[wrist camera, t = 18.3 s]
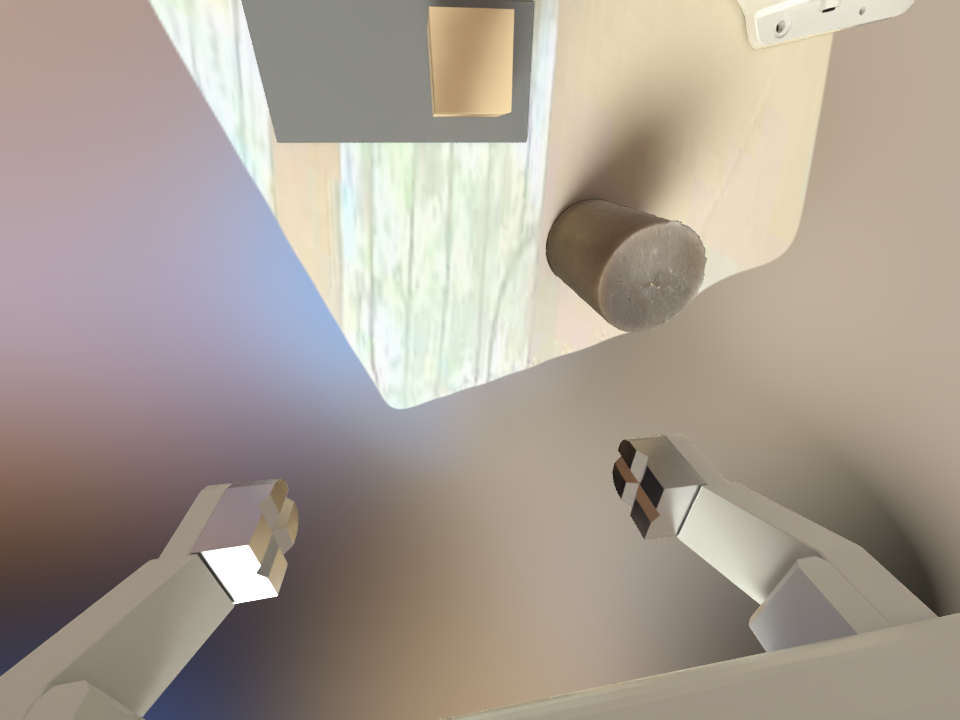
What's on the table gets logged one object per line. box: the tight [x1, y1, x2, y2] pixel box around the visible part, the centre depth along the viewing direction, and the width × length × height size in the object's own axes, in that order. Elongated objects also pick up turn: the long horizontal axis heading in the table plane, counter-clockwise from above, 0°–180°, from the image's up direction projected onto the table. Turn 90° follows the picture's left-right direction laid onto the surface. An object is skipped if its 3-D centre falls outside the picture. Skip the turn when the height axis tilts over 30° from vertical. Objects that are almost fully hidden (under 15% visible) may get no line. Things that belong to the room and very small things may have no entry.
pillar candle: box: [546, 199, 707, 332], centre depth 35 cm, size 10×10×15 cm
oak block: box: [427, 6, 514, 117], centre depth 29 cm, size 6×6×6 cm
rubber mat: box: [241, 0, 534, 143], centre depth 31 cm, size 23×10×1 cm, turn 90°
